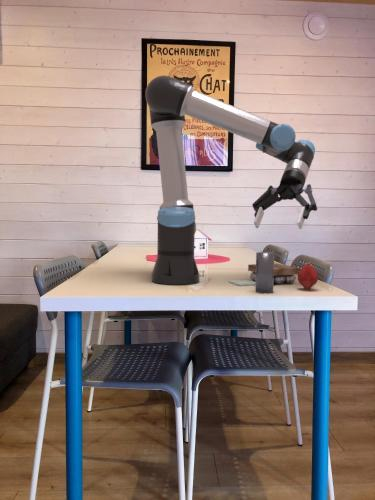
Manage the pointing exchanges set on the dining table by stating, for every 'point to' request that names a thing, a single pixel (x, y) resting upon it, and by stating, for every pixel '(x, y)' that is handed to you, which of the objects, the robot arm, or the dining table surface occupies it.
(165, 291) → the dining table surface
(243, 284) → the stop pad
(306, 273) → the red strawberry
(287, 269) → the slab
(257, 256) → the steel roller
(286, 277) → the roller track
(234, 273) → the dining table surface
